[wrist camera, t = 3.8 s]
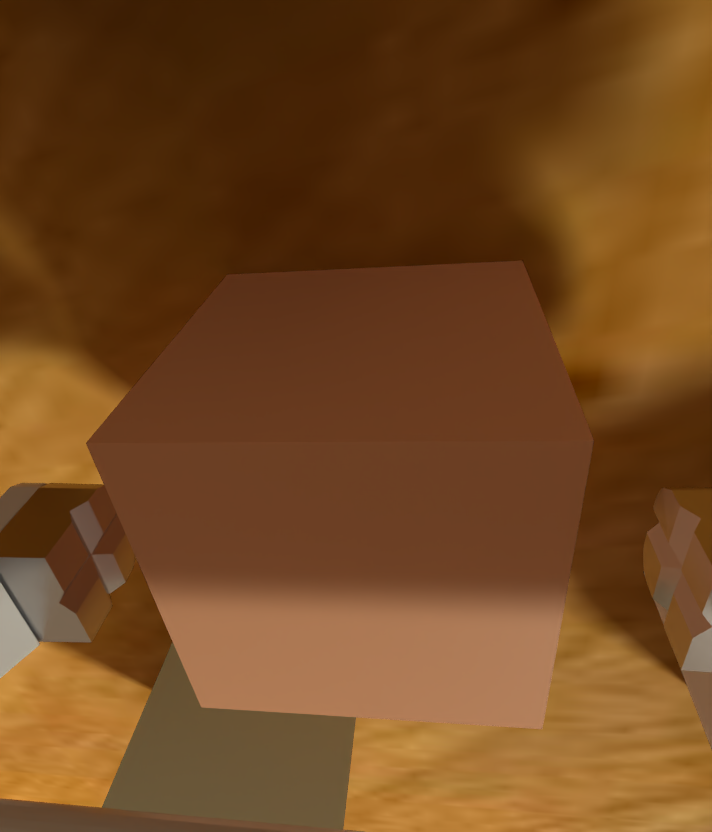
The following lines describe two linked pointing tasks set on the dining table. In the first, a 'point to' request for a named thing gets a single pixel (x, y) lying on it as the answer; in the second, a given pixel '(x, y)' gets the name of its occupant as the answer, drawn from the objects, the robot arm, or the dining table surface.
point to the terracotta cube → (358, 493)
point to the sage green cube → (233, 760)
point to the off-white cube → (697, 689)
